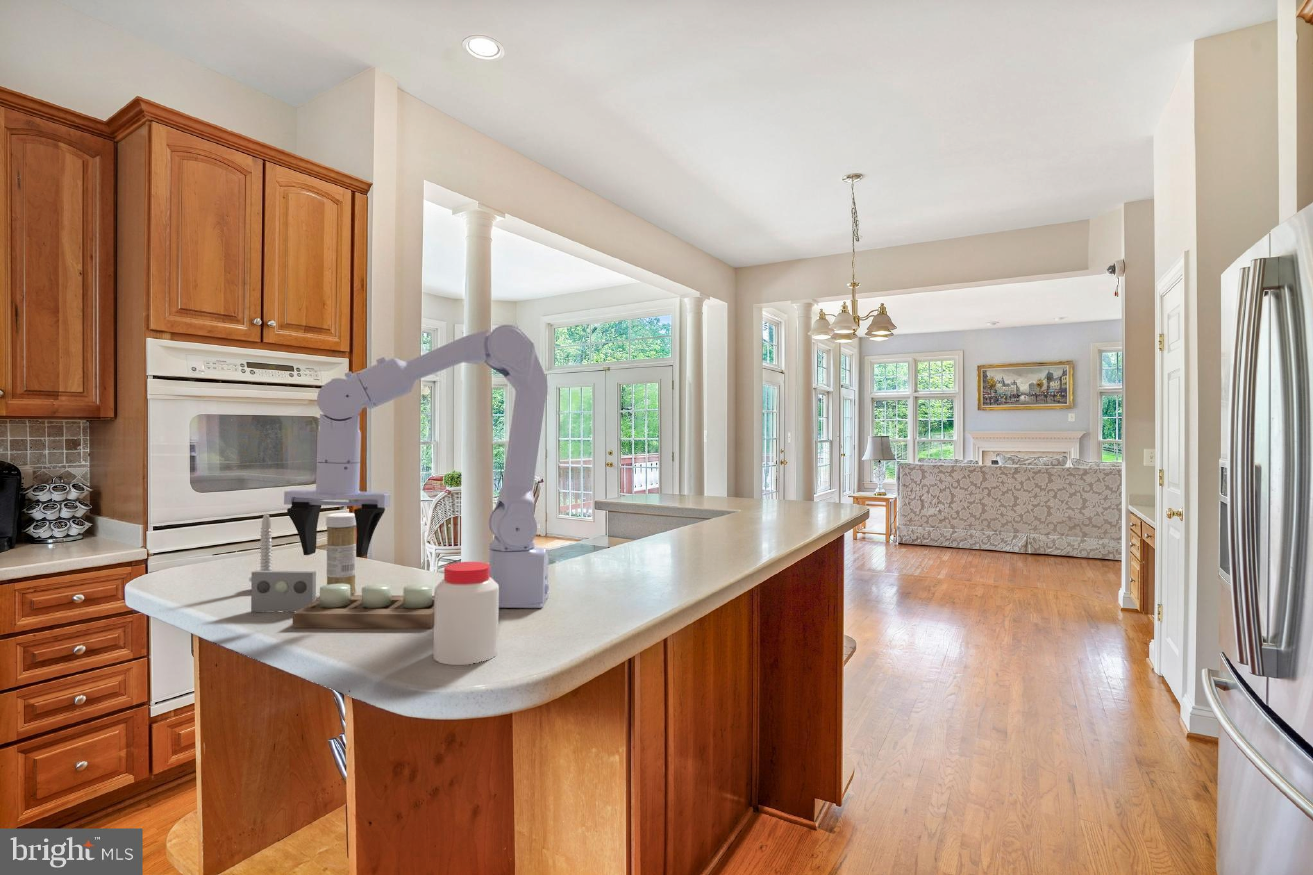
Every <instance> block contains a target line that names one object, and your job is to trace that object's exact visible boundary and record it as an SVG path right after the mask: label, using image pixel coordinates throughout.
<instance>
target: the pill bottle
mask: <svg viewBox="0 0 1313 875" xmlns="http://www.w3.org/2000/svg"><path fill="white" fill-rule="evenodd" d="M443 570H444V571H443V579H442V580H441V581H439V582H438V584H437V585H436V586H434V591H433V596H434V626H433V653H432V654H433V657H432V658H433V659H434V660H435V661H438V663H441V664H444V665H447V666H448V665H449V666H467V665H468V666H469V664H470V665H474V664H473V663H476V664H480V663H484V662H486V660H487V661H489V660H492V659H493V658H495V657H496V656H497V655H498V653H499V625H500V624H499V620H500V618H499V617H500V616H499V615H500V611H499V609H500V608H499V585H498V583H497V582H495V581H494V580H493V579H492V578H491V577H490V565H489V563H488V562H487V563H486V562H482V561H461V562H453V563H450V564H449V563H448V564H447V565H445V566H444V567H443ZM494 656H495V657H494ZM491 658H492V659H491ZM481 661H482V662H481ZM483 661H484V662H483ZM479 662H480V663H479Z"/></svg>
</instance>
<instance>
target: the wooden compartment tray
mask: <svg viewBox="0 0 1313 875" xmlns="http://www.w3.org/2000/svg"><path fill="white" fill-rule="evenodd" d="M432 628H434V595H432V605H430V606H427V607H422V608H406V607H404V606H403V595H395V594H393V595H392V594H391V604H390V605H388V606H384V607H378V608H366V607H362V594H353V595H350V604H348V605H345V606H341V607H333V608H326V607H321V606H320V598H319V599H317V600H316V601H315V602H313V603H311V604H309V605H307V606H306V607H304V608H302V609H300V610H298V611H296V612H292V629H427V630H428V629H429V630H430V629H432Z"/></svg>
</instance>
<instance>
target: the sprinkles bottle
mask: <svg viewBox="0 0 1313 875" xmlns="http://www.w3.org/2000/svg"><path fill="white" fill-rule="evenodd" d="M325 523H326V524H325V526H326V530H327V533H326V534H327V535H326V539H327V540H326V542H327V544H326V585H330V584H349V585H350V595H355V593H356V592H357V589H356V570H357V568H356V567H357V566H356V564H357V563H356V562H357V560H356V559H357V555H356V543H357V534H356V529H357V528H356V520H355V514H354V512H337V513H335V512H334V513H330V514H327V515H326V519H325Z"/></svg>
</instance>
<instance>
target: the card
mask: <svg viewBox="0 0 1313 875" xmlns="http://www.w3.org/2000/svg"><path fill="white" fill-rule="evenodd" d="M251 576H252V580H251V582H250V583H251V589H250V590H251V591H250V592H251V595H250V598H251V599H250V600H251V601H250V602H251V603H250V605H251V606H250V608H251V613H268V612H267V611H298V610H300V609H302V608H304V607H306V606H307V605H309V604H311V603H313V602H315V601H317V600H316V599H317V589H316V588H317V571H316V570H272V571H260V570H253V571H251ZM263 611H264V612H263Z"/></svg>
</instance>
